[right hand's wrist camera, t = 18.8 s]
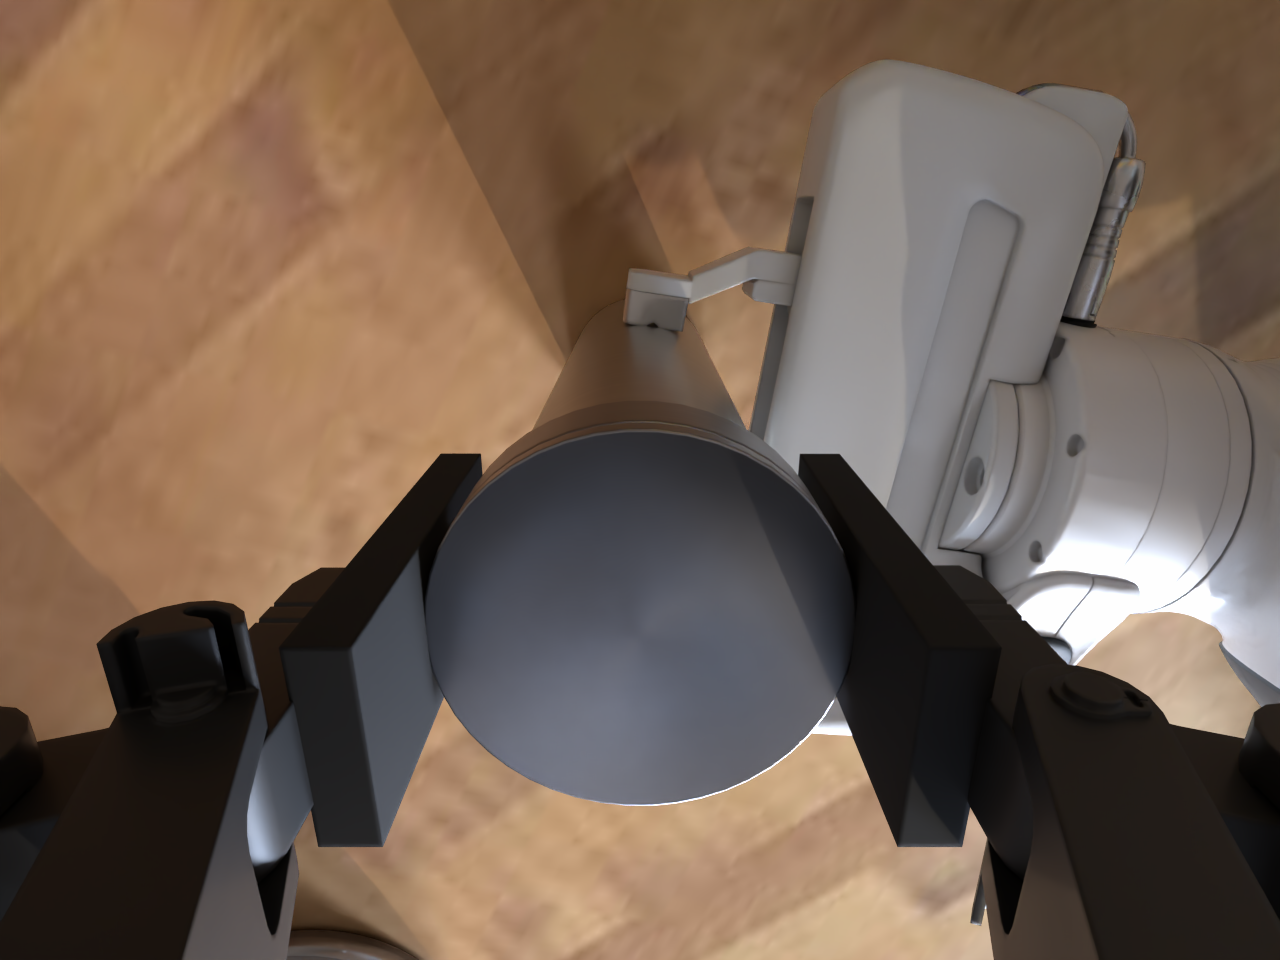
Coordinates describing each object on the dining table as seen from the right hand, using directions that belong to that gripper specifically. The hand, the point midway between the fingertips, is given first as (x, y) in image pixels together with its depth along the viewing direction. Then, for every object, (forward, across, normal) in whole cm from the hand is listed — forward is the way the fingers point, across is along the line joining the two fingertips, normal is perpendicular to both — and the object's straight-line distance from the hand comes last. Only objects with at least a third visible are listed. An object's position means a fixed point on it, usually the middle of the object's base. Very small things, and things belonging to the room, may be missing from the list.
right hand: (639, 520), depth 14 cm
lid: (-4, 0, 0) cm, 4 cm away
